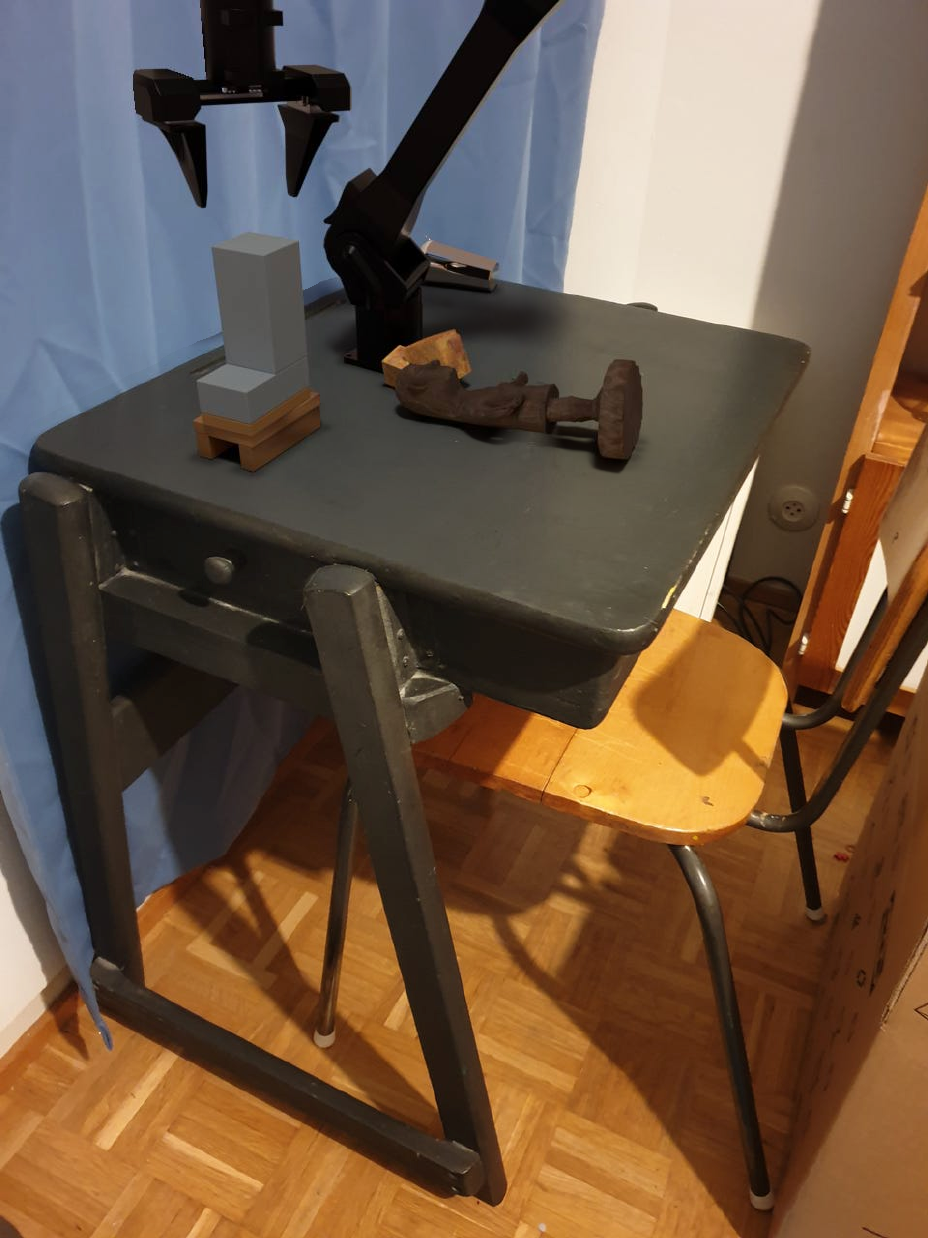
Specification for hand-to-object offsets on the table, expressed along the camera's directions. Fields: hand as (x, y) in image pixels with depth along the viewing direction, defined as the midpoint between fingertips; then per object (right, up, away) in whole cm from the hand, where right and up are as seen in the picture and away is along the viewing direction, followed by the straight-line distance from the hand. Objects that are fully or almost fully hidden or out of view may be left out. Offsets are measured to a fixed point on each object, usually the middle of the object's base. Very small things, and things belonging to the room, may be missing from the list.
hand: (248, 201), depth 82 cm
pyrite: (+16, -13, +2) cm, 20 cm away
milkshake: (+23, +2, +22) cm, 32 cm away
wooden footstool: (+3, -23, -9) cm, 25 cm away
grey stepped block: (+3, -21, -11) cm, 24 cm away
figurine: (+33, -21, -11) cm, 40 cm away
